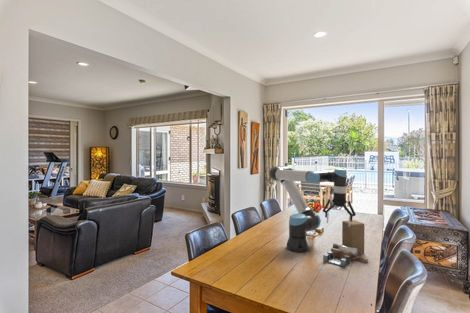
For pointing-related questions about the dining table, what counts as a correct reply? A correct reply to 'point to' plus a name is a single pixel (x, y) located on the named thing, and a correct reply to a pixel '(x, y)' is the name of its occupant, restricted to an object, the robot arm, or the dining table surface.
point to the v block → (336, 259)
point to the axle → (346, 249)
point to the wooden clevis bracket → (341, 253)
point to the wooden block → (353, 235)
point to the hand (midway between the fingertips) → (338, 224)
